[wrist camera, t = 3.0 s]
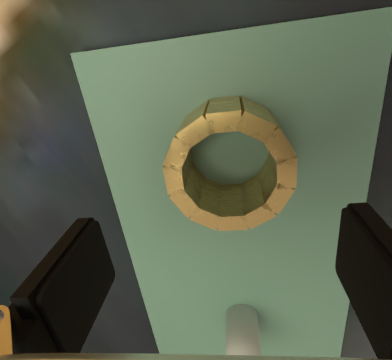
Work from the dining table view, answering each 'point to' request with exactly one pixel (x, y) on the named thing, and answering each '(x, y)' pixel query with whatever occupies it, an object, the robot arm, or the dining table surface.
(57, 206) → the dining table surface
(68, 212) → the dining table surface
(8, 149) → the dining table surface
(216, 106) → the brass ring
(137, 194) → the post board
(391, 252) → the robot arm
